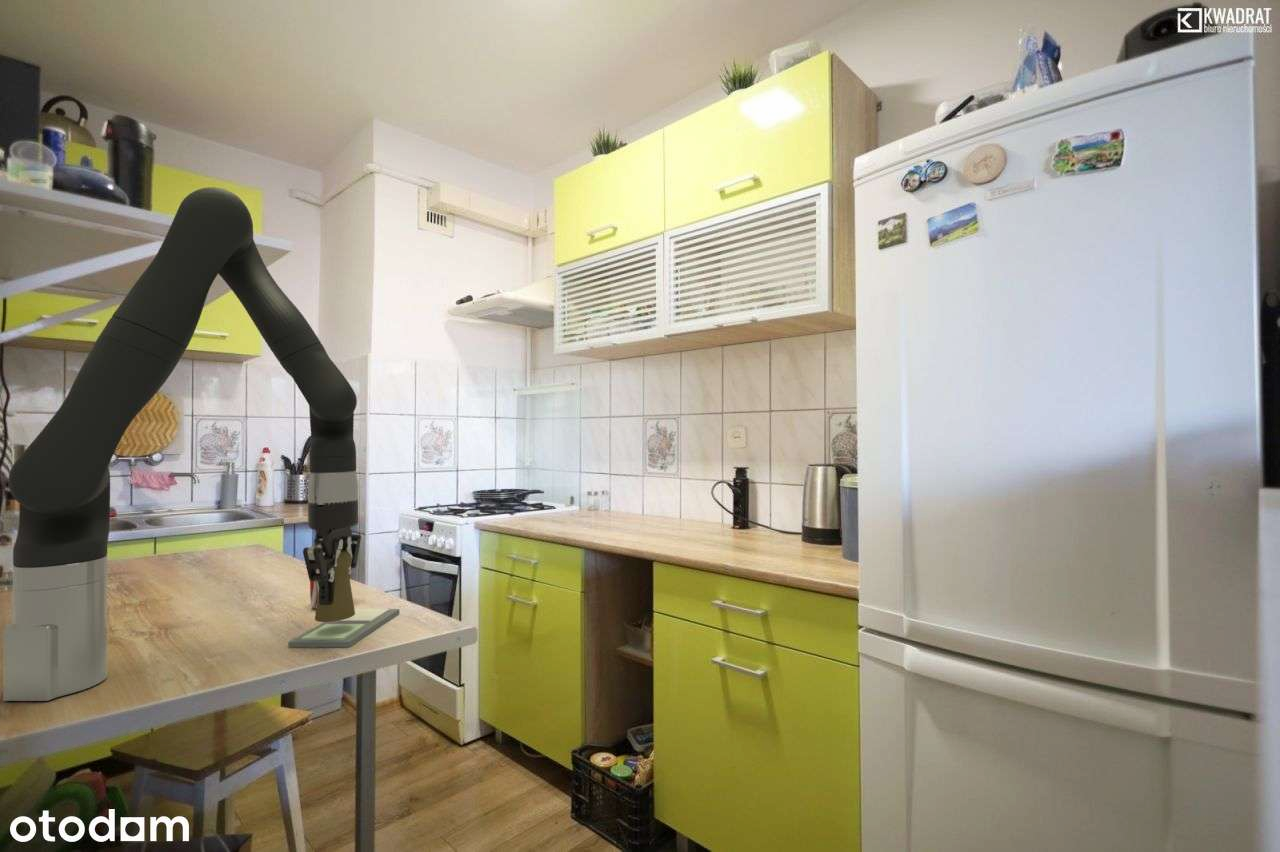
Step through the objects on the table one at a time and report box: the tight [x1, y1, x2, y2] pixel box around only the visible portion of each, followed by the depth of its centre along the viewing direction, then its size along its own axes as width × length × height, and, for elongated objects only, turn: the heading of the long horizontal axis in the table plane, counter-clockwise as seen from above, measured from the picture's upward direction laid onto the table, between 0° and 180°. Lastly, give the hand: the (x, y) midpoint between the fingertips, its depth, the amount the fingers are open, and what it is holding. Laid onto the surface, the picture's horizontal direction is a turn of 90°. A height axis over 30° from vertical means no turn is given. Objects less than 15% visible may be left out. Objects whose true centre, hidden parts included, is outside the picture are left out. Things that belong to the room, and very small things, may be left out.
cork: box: [314, 551, 355, 623], centre depth 99 cm, size 6×6×11 cm
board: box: [287, 608, 400, 649], centre depth 103 cm, size 18×10×1 cm, turn 178°
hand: (334, 600), depth 99 cm, fingers closed on cork, 3 cm apart
